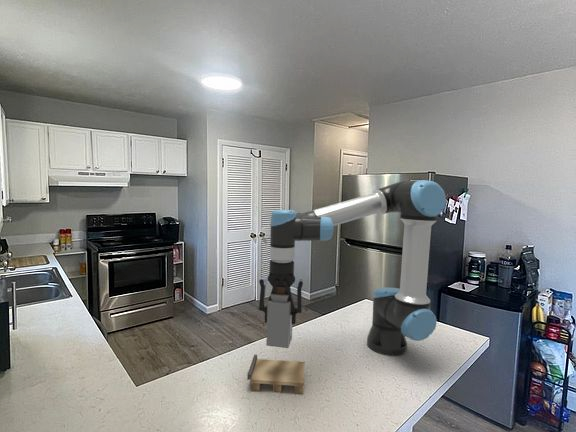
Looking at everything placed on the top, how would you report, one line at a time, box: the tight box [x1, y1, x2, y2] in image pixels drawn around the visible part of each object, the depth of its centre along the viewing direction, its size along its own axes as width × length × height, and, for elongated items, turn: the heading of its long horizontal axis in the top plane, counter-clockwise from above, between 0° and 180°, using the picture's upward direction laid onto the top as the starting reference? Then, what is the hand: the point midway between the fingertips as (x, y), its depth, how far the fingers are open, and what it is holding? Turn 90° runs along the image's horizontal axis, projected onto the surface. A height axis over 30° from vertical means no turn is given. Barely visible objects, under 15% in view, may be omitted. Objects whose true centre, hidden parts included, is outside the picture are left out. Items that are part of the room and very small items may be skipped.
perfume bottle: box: [265, 286, 294, 349], centre depth 100 cm, size 7×7×18 cm
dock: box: [247, 354, 306, 395], centre depth 102 cm, size 17×12×5 cm
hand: (279, 332), depth 101 cm, fingers closed on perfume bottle, 6 cm apart
